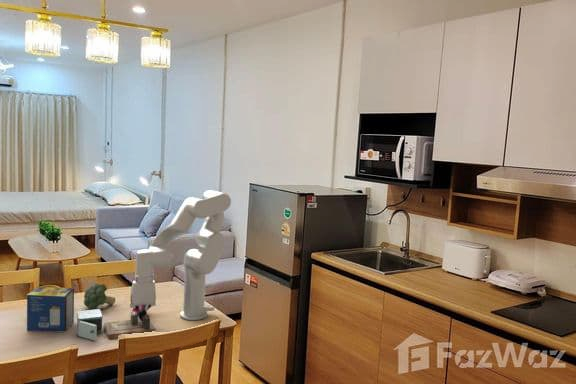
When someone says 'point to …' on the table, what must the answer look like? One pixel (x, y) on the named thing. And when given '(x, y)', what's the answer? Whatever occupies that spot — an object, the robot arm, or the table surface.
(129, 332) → the fader board
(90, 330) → the door
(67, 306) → the protein box
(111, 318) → the table surface
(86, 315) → the box
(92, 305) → the vegetable
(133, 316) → the fader knob
